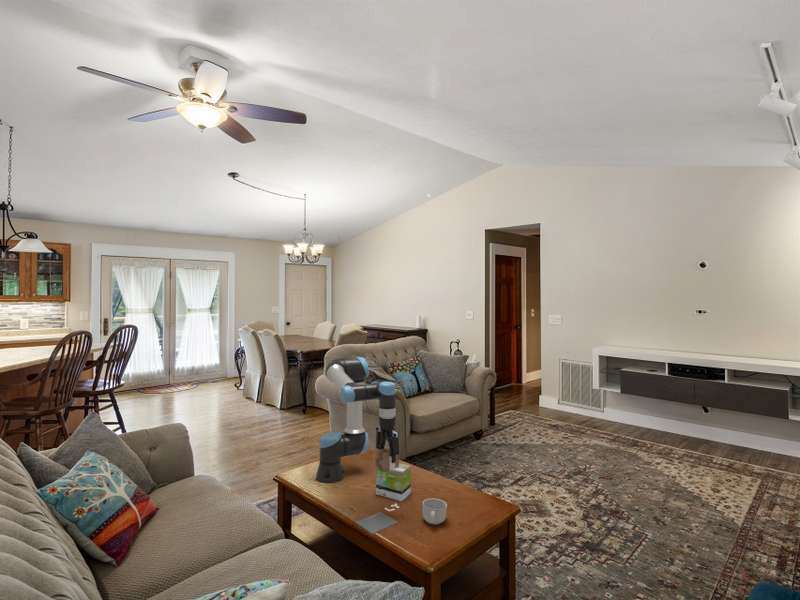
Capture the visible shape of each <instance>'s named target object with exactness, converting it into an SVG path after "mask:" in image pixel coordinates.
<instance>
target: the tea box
mask: <svg viewBox="0 0 800 600" xmlns="http://www.w3.org/2000/svg"><path fill="white" fill-rule="evenodd" d="M375 472H376V475H375V484H376V485H375V494H376V496H381V497H384V498H389V499H392V500H395V501H398V502H403V501H404V500H405V499H406V498H407V497H409V495H411V493H412V489H411V488H412V465H410V464H405V463H400V462H399V467H398V468H395V469H394V470H391V471H387V472H382V471H380V470H377V469H375Z"/></svg>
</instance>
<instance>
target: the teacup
mask: <svg viewBox="0 0 800 600" xmlns="http://www.w3.org/2000/svg"><path fill="white" fill-rule="evenodd" d="M447 510H448V504H447V502H446V501H444V500H442V499H439V498H433V497H432V498H429V497H428V498H426V499H424V500H423V501H422V519H424V521H426V522H427V523H428V524H430V525H432V526H433V525H434V526H435V525H440V524H442V523H444V521H445V520H446V517H447V512H448V511H447Z"/></svg>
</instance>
